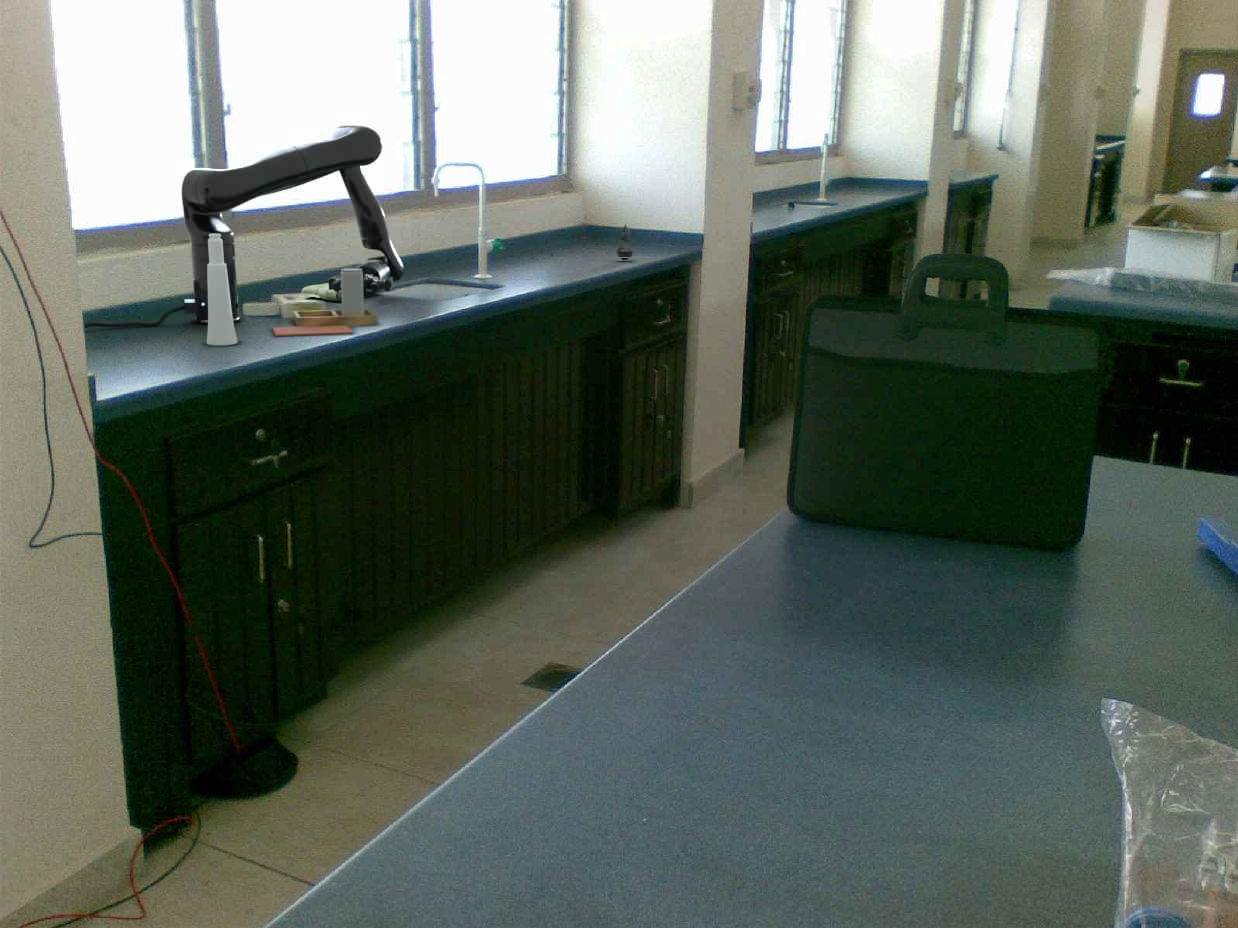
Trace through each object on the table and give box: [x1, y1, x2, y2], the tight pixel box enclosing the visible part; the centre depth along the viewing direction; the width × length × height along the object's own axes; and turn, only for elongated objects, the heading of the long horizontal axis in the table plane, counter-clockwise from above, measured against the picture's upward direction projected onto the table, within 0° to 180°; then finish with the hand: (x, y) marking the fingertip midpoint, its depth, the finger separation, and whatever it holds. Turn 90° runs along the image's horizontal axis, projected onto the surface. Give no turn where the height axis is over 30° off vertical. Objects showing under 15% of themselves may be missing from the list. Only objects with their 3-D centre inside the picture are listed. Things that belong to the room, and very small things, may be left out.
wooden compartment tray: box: [293, 308, 378, 327], centre depth 271 cm, size 17×9×2 cm, turn 110°
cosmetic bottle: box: [206, 234, 238, 347], centre depth 242 cm, size 6×6×22 cm
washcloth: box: [300, 282, 367, 302], centre depth 308 cm, size 13×18×3 cm
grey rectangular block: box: [340, 267, 365, 316], centre depth 271 cm, size 5×5×12 cm
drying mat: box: [272, 325, 354, 338], centre depth 260 cm, size 16×9×1 cm, turn 110°
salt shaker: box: [615, 223, 635, 260], centre depth 395 cm, size 6×6×12 cm
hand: (354, 287), depth 273 cm, fingers open, 8 cm apart
